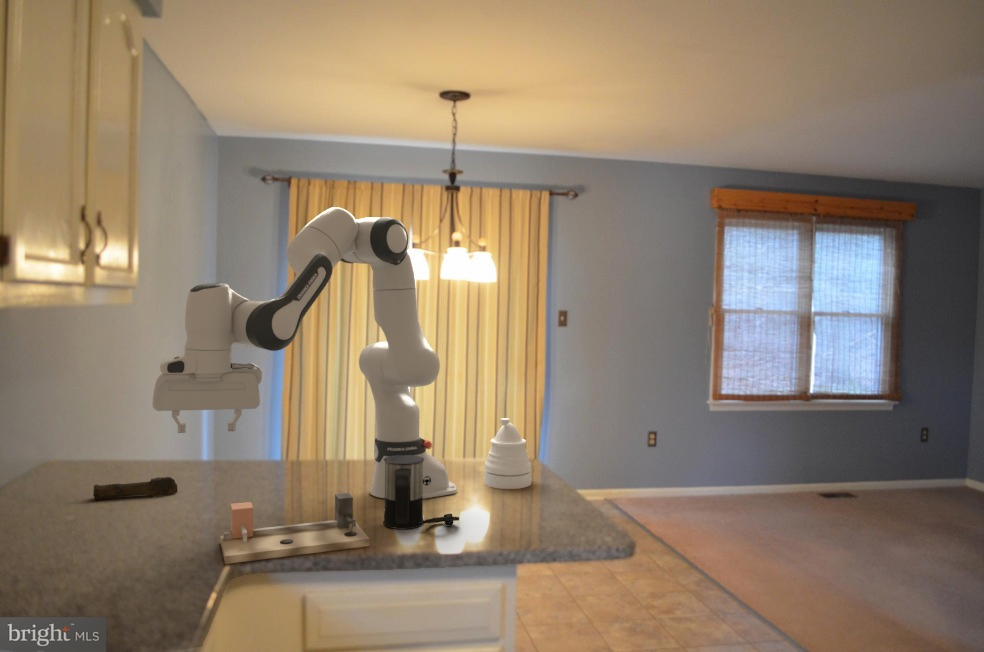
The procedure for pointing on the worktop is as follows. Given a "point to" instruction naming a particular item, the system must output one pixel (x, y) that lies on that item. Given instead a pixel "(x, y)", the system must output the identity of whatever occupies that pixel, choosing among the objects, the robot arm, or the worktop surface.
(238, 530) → the block
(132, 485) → the hand tool
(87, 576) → the worktop surface
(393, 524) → the milk frother
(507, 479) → the honey pot
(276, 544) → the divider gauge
